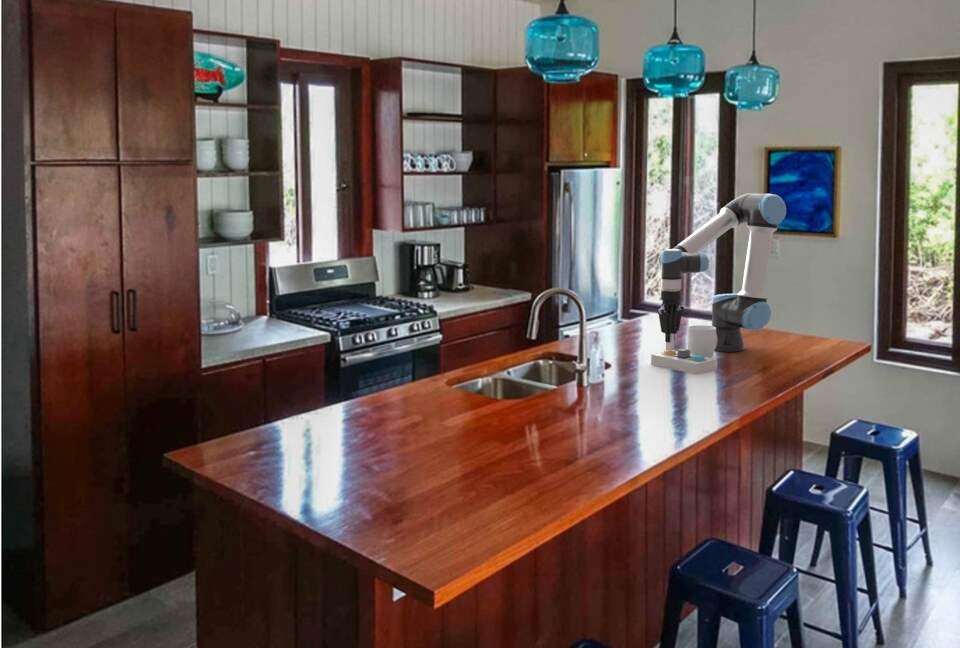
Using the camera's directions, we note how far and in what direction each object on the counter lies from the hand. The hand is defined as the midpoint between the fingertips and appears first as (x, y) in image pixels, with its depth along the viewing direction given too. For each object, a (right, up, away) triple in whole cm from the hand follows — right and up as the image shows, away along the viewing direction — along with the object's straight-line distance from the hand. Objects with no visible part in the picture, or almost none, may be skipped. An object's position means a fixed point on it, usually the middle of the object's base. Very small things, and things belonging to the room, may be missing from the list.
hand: (669, 350), depth 345 cm
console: (+4, -6, -5) cm, 9 cm away
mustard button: (0, -4, +1) cm, 4 cm away
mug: (+15, -4, +8) cm, 17 cm away
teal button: (+8, -6, -10) cm, 15 cm away
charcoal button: (+4, -4, -5) cm, 8 cm away
